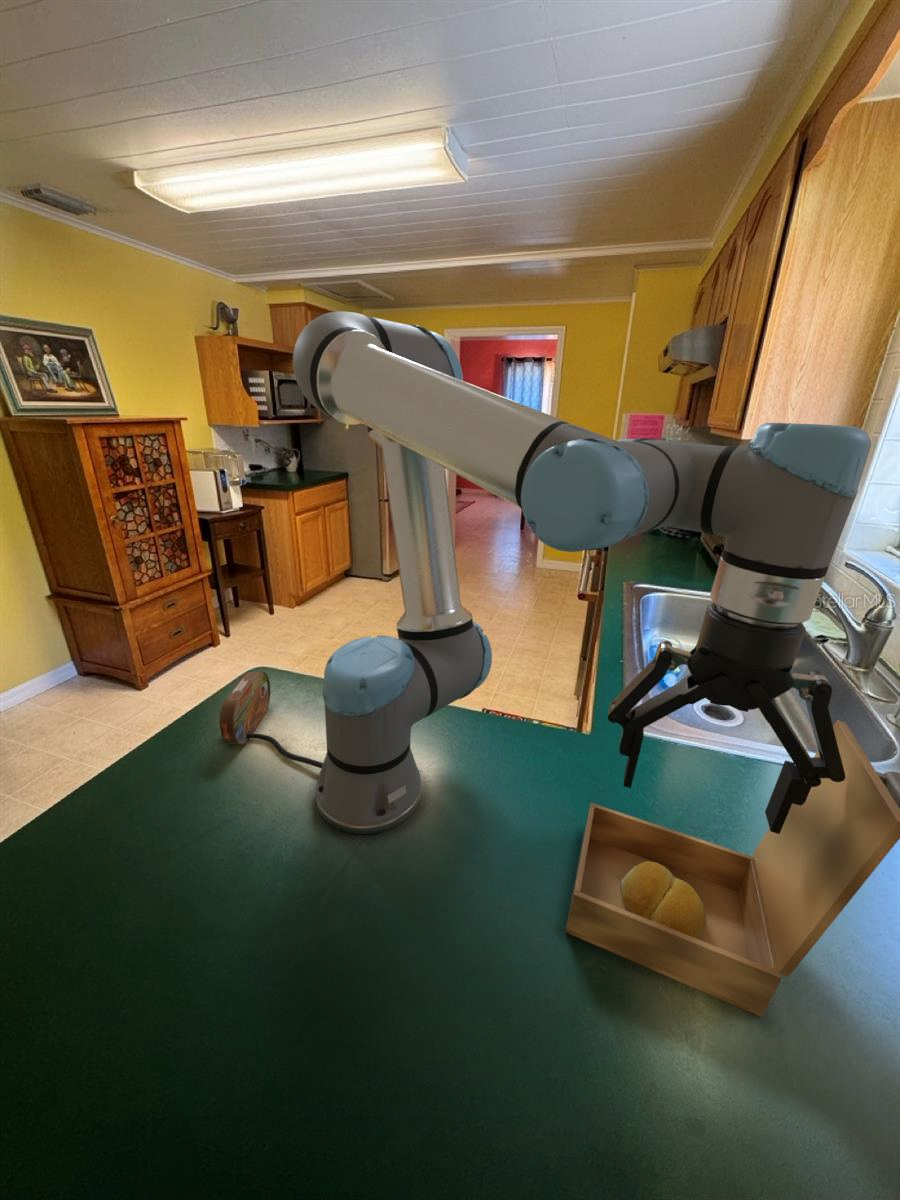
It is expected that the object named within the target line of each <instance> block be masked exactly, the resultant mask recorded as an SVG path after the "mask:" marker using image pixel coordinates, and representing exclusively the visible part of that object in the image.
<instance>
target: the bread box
mask: <svg viewBox="0 0 900 1200" xmlns="http://www.w3.org/2000/svg"><path fill="white" fill-rule="evenodd" d="M586 817H587V818H586V823H585V827H584V832H583V836H582V840H581V846H580V852H579V857H578V861H577V867H576V874H575V879H574V883H573V889H572V893H571V900H570V905H569V909H568V910H569V911H568V917H567V922H566V926H565V933H567V934H568V935H571V936H573V937H576V938H578V939H580V940H582V941H585V942H587V943H590V944H591V945H593V946H596V947H599V948H601V949H603V950H606V951H608V952H610V953H613V954H615V955H617V956H619V957H621V958H624V959H626V960H628V961H630V962H633V963H635V964H638V965H640V966H642V967H645V968H647V969H649V970H652V971H654V972H656V973H659V974H661V975H663V976H666V977H668V978H670V979H673V980H675V981H678V982H679V983H682V984H684V985H687V986H689V987H692V988H693V989H695V990H698V991H701V992H702V993H705V994H707V995H710V996H711V997H714V998H716V999H719V1000H721V1001H724V1002H726V1003H728V1004H730V1005H733V1006H735V1007H737V1008H738V1009H739V1008H740V1009H742V1010H744V1011H746V1012H749V1013H751V1014H753V1015H756V1016H758V1017H760V1018H763V1016H764V1014H765V1013H766V1011H767V1009H768V1008H769V1005H770V1002H771V1000H772V999H773V997H774V995H775V993H776V991H777V989H778V987H779V985H780V983H781V982H782V979H783V977H782V974H780V973H779V969H778V964H777V960H776V955H775V951H774V946H773V941H772V937H771V932H770V928H769V923H768V918H767V914H766V909H765V905H764V900H763V895H762V891H761V886H760V882H759V877H758V873H757V868H756V863H755V859H754V856H752V855H750V854H746V853H743V852H739V851H737V850H734V849H731V848H728V847H725V846H722V845H720V844H716V843H713V842H710V841H707V840H705V839H701V838H698V837H695V836H692V835H689V834H686V833H684V832H680V831H677V830H674V829H672V828H671V829H670V828H668V827H665V826H661V825H660V824H656V823H653V822H650V821H646V820H644V819H641V818H639V817H635V816H632V815H629V814H626V813H623V812H620V811H617V810H614V809H612V808H609V807H605V806H602V805H599V804H596V803H593V802H590V805H589V808H588V813H587V816H586ZM647 861H649V862H656V863H659V864H660V865H662V866H664V867H665V868H667V869H668V870H669V871H670V872H671V874H672V875H673V876H674V877H676V878H678V879H680V880H682V881H684V882H686V883H688V884H689V885H690V886H691V887H692V888H693V889H694V890H695V891H696V893H697V894H698V896H699V898H700V899H701V901H702V903H703V906H704V908H705V914H706V926H705V929H704V931H703V934H702V936H701V937H700V939H696V938H693V937H691V936H688V935H686V934H683V933H681V932H678V931H676V930H673V929H671V928H668V927H666V926H663V925H661V924H658V923H656V922H653V921H651V920H648V919H646V918H643V917H641V916H638V915H636V914H633V913H631V912H630V911H629V910H628V908H627V907H626V905H625V903H624V900H623V897H622V894H621V891H620V883H621V881H622V879H623V878H624V877H625V875H626V874H627V873H628V872H629V871H630V870H631V869H632V868H634V866H636V865H638V864H641V863H643V862H647Z"/></svg>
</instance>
